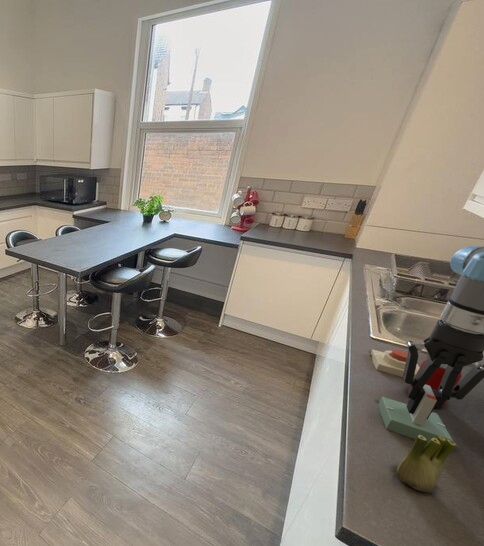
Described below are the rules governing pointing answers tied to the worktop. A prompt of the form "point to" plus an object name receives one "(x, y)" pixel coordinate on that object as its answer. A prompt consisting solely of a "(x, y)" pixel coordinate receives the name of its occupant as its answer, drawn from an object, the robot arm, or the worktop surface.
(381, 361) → the button box
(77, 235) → the worktop surface
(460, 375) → the beverage can
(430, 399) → the handle
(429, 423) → the plate
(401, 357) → the button
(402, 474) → the fennel bulb
